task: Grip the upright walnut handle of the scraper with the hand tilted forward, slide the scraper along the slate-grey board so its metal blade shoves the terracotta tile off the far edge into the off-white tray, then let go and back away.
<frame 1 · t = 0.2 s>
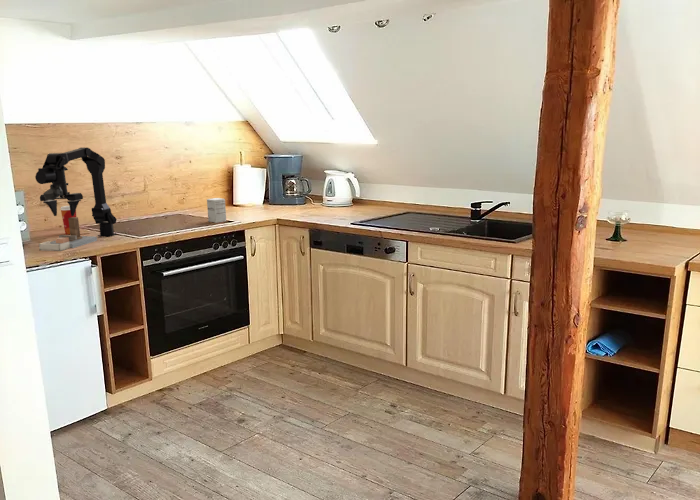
hand: (64, 216, 280), 15 cm above the countertop, tool pointing down, fingers open, 9 cm apart
tray: (54, 249, 280), on the countertop
board: (72, 243, 291), on the countertop
tile: (62, 242, 284), point 2 cm above the countertop, touching board
scraper: (75, 238, 293), point 2 cm above the countertop, touching board
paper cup: (71, 233, 317), on the countertop
supplement box: (217, 221, 343), on the countertop
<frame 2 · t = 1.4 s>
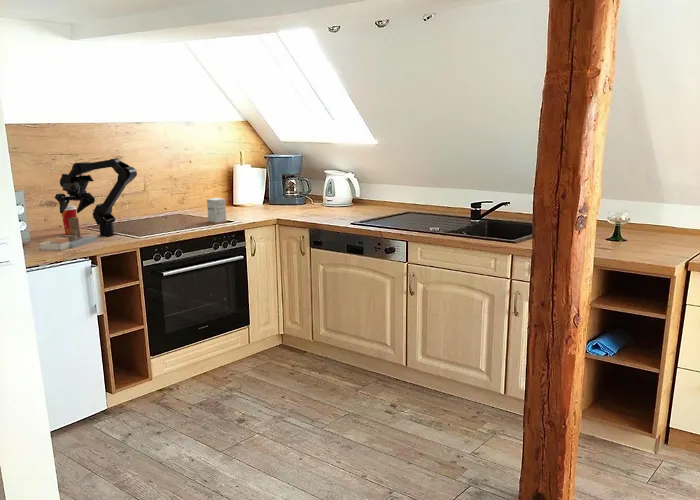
hand: (69, 212, 296), 14 cm above the countertop, tool tilted 45°, fingers open, 9 cm apart
nothing on the countertop moved.
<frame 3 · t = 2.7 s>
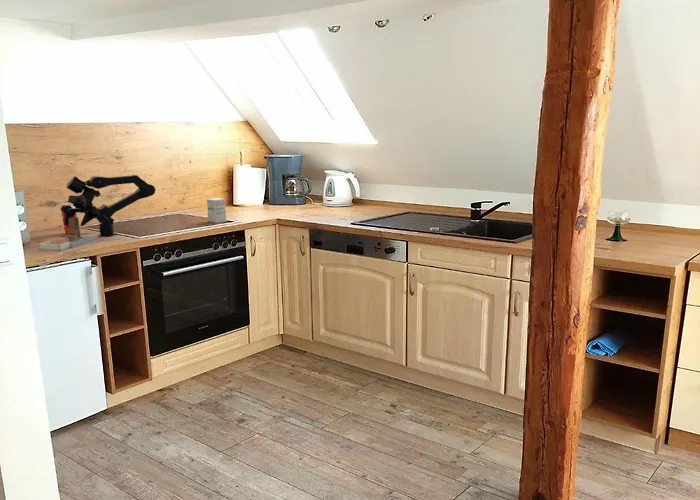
hand: (73, 225, 291), 8 cm above the countertop, tool tilted 45°, fingers open, 9 cm apart
nothing on the countertop moved.
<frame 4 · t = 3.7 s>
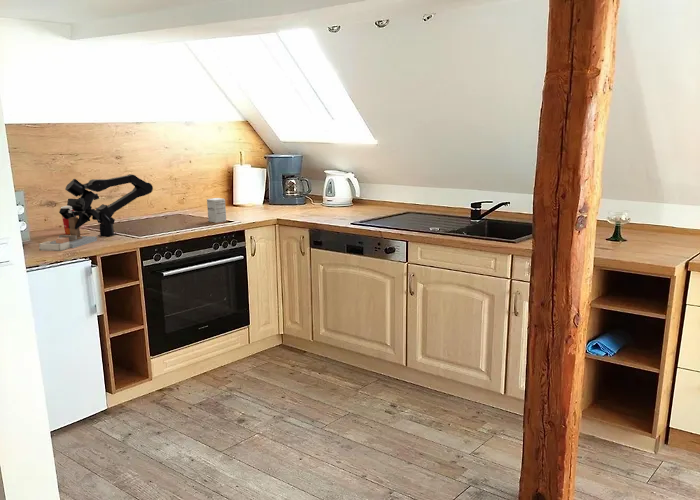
hand: (72, 228, 290), 7 cm above the countertop, tool tilted 45°, fingers closed on scraper, 3 cm apart
scraper: (75, 238, 293), point 2 cm above the countertop, touching board, gripper
everything else where it was.
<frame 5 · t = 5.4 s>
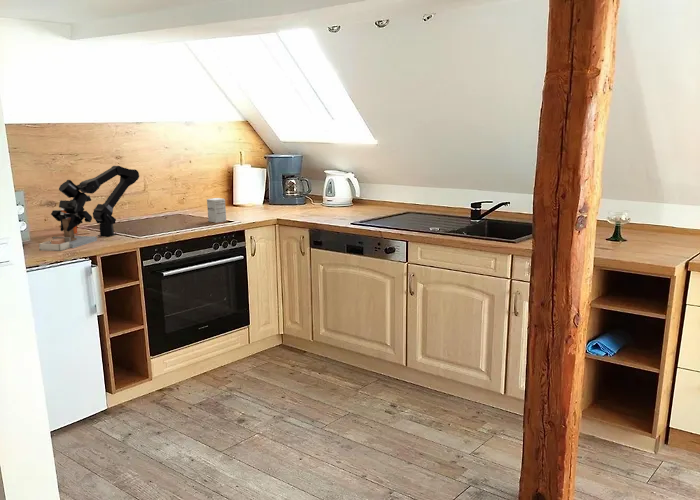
hand: (64, 230, 285), 7 cm above the countertop, tool tilted 45°, fingers closed on scraper, 3 cm apart
tile: (58, 243, 282), point 2 cm above the countertop, touching board, scraper
scraper: (69, 240, 289), point 2 cm above the countertop, touching board, gripper, tile
everything else where it was.
when the fingers open (7 cm above the countertop, at t = 6.4 s): scraper stays where it is, resting on board.
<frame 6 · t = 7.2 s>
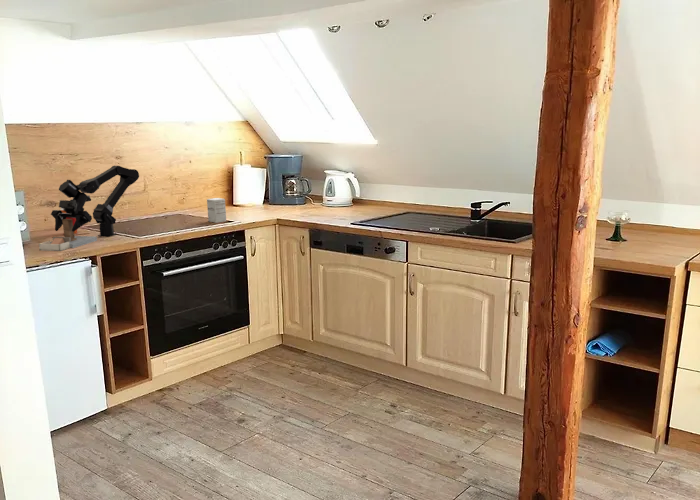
hand: (64, 230, 285), 7 cm above the countertop, tool tilted 45°, fingers open, 9 cm apart
tile: (58, 244, 282), point 2 cm above the countertop, tilted 33°, touching board, tray
scraper: (69, 240, 289), point 2 cm above the countertop, touching board
everything else where it was.
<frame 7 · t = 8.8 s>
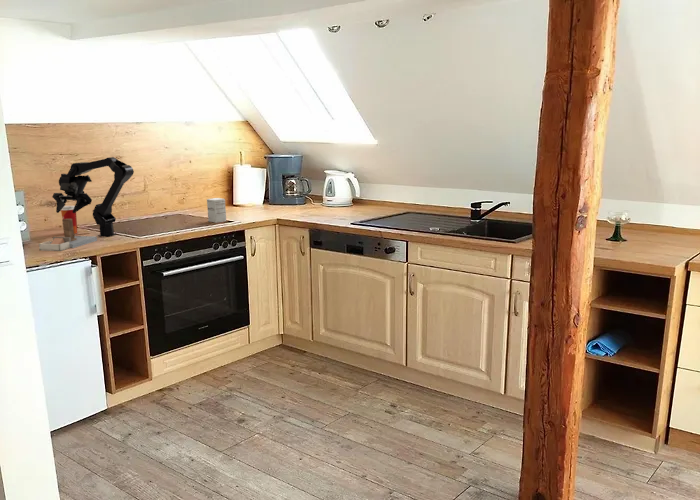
hand: (65, 212, 297), 14 cm above the countertop, tool tilted 45°, fingers open, 9 cm apart
nothing on the countertop moved.
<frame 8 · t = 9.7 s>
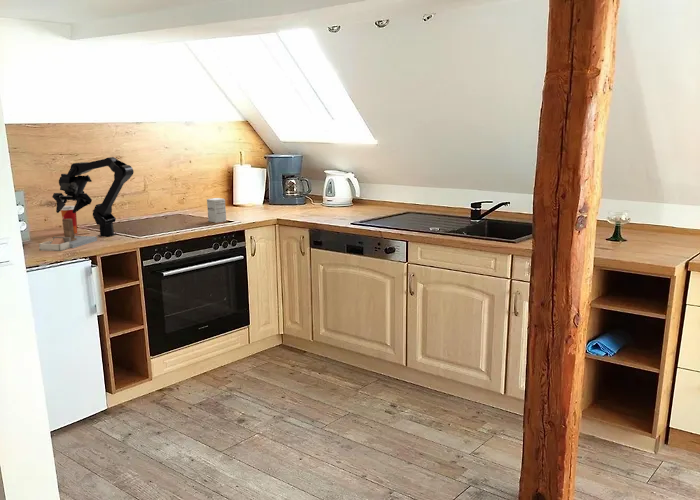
hand: (65, 212, 297), 14 cm above the countertop, tool tilted 45°, fingers open, 9 cm apart
nothing on the countertop moved.
at the end: tile inside the target area on the tray (2.9 cm from its centre), point 1.7 cm above the tray's base; scraper moved 4.0 cm from its start; the gripper is holding nothing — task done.
